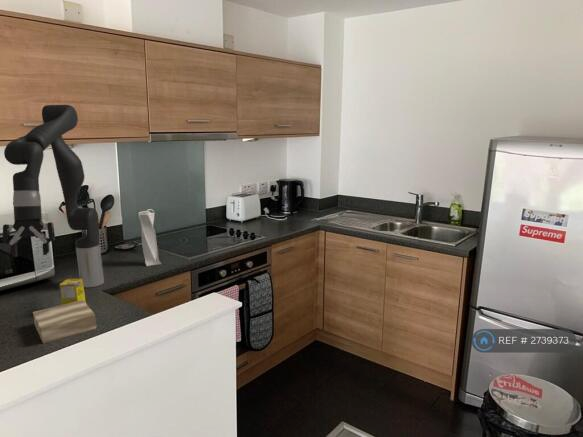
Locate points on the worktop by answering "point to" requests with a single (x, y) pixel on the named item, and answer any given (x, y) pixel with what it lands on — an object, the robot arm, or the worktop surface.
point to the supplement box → (72, 291)
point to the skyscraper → (149, 238)
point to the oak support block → (64, 320)
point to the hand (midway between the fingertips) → (30, 255)
